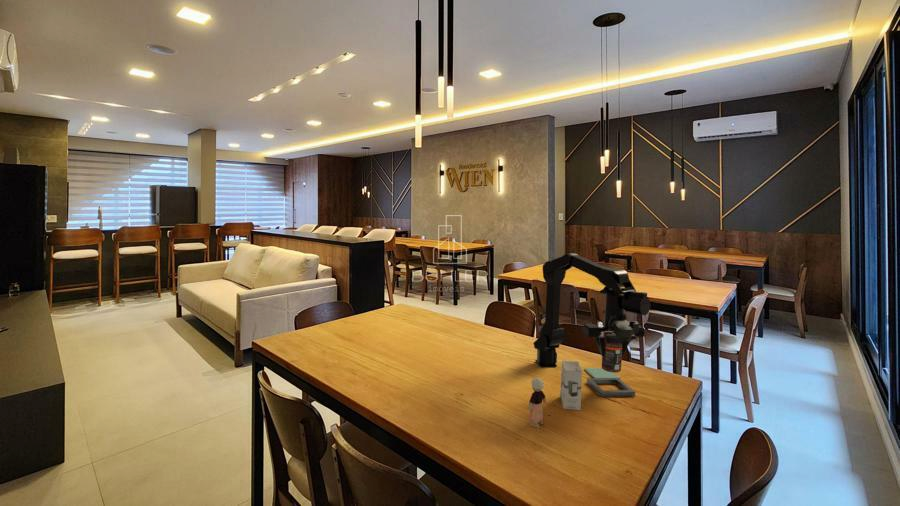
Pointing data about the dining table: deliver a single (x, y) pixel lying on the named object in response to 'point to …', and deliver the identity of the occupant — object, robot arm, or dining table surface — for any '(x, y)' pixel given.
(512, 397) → the dining table surface
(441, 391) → the dining table surface
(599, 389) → the grey square frame
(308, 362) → the dining table surface
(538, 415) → the grandmother figurine
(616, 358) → the supplement bottle
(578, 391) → the ink box
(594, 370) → the pad
